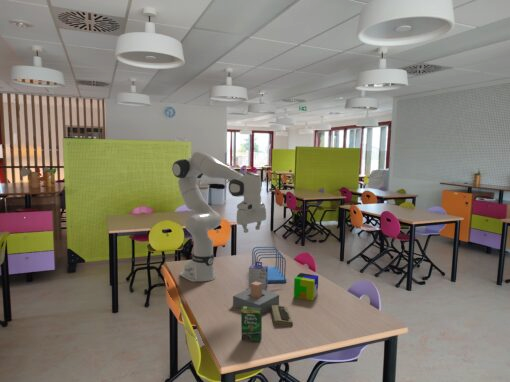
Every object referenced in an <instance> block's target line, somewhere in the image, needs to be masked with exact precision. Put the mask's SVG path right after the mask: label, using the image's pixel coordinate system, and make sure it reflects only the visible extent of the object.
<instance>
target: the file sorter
mask: <svg viewBox="0 0 510 382" xmlns="http://www.w3.org/2000/svg"><path fill="white" fill-rule="evenodd" d="M255 249H256V250H255ZM257 251H258V252H257ZM258 254H259V255H258ZM257 255H258V256H257ZM251 256H252V257H251V265H253V266H255V264H256V262H261V259H269V258H270V259H275V266H268V279H267V284H269V283H272V284H275V283H287V278H286V266H287V264H286V263H287V262H286V258H285V257H284V256H283V254H281V252H280V251H279V250H278V249H277V247H276V246H255V247H253V249H252V253H251ZM259 257H260V258H259ZM257 265H260V263H257Z"/></svg>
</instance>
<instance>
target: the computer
mask: <svg viewBox="0 0 510 382" xmlns="http://www.w3.org/2000/svg"><path fill="white" fill-rule="evenodd" d="M270 313H271V318H272V320H273V325H274V327H292V326H293V324H294V323H293V320H292V316H291V314H290V311H289V307H288V306H284V305H272V306H271V309H270Z"/></svg>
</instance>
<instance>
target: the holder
mask: <svg viewBox="0 0 510 382" xmlns="http://www.w3.org/2000/svg"><path fill="white" fill-rule="evenodd" d="M272 305H278V306H280V294H278V293H275V292H272V291H268V290H267V289H266V290H263V289H262V297H261V298H258V299H256V298H253V297H251V288H250V289H245V290H244V291H241V292H239V293H236V294H234V295H233V296H232V307H235V308H238V309H240V310H241V309H242V307H243V306H245V307H254V308H262V315H263V314H264V313H266V312H268V311H271V306H272Z"/></svg>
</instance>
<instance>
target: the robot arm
mask: <svg viewBox="0 0 510 382" xmlns="http://www.w3.org/2000/svg"><path fill="white" fill-rule="evenodd" d="M171 168H172V169H171V171H172V174H173V175H174V177H175V178H177V179H178V181H177V183H178V187H179V192H180V193H181V196H182V198H183V201H184V204H185V205H186V208H187V209H188V210H189V211H192V212H193V213H194V214H192V215H190V216H188V217H187V218H186V219H185V221H184V222H185V223H184V226H185V229H186V230H187V231H188V233H189V234H190V235H191V237H192V240H193V253H194V254H193V253H192V254H191V255H190V257H191V259H190V261H188V262H187V263H186V264H185V265H184V268H183V271H181V272H180V273H179V275H180V276H181V277H183V279H186V280H188V281H190V282H191V283H192V282H193V283H194V282H209V281H212V280H215V279H216V271H215V264H214V263H215V262H214V261H215V256H214V255H215V254H214V241H213V239H211V238H210V237H209V233H208V231H211V230H214V229H216V228H218V227H219V226H220V225H221V223H222V217H221V215H220V213H219V212H218V211H215V210H214V209H213V208H212V207H211V206H210V205H209V204H208V203H207V201H206V200H205V198H204V196H203V194H202V192H201V189H200V187H199V185H198V182H197V179H201V178H202V177H203V175H204V176H206V177H208V178H210V179H221V180H222V179H224V180H229V184H228V192H229V194H230V195H231V196H232V197H237V198H240V197H243V200H242V201H241V202H239V203H238V204H236V209H237V210H236V223H237V225H241V226H242V229H243V233H244V234H245V233H246V234H247V233H248V232H249V228H248V227H247V226H248V225H249V224H253V223H256V226H255V230H257V231H259V230H261V225H262V222H263V221H266V219H267V208H266V204H265V203H264V202H262V195H261V192H262V178H261V175H260V174H258V173H256V172H251V171H248V172H245V173H244V174H243V173H241V172H239V171H237V170H236V169H234V168H233V167H230V166H228V165H226V164H225V163H224V162H221V161H220V160H218V159H217V158H215V157H214V156H212V155H211V154H208V153H207V152H204V151H201V150H197V151H195V152H193V153H192V155H191V157H189V158H184V159H183V158H182V159H178V160H176V161H174V162H173V163H172V167H171Z"/></svg>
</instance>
